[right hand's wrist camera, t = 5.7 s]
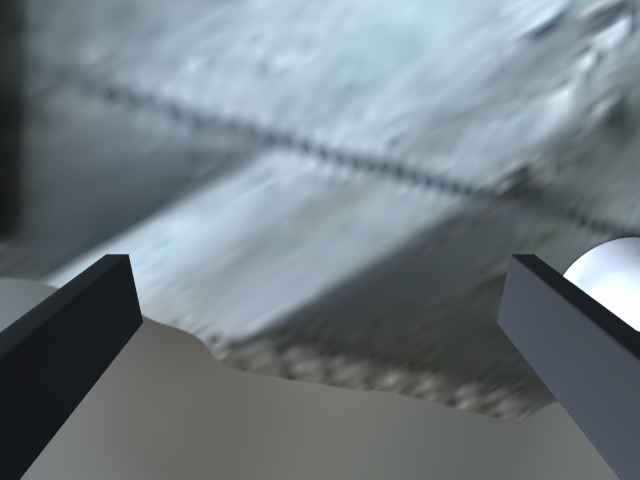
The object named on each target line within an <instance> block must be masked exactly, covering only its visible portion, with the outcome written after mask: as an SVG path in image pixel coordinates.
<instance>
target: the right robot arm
mask: <svg viewBox="0 0 640 480" xmlns="http://www.w3.org/2000/svg"><path fill="white" fill-rule="evenodd" d="M142 323H143V320H142V315H141V310H140V306H139V301H138V296H137V292H136V287H135V282H134V278H133V273H132V268H131V263H130V259H129V254H106V255H105V256H103V257H102V258H101V259H99V260H98V261H97V262H95V263H94V264H93V265H91V266H90V267H88V268H87V269H86V270H84V271H83V272H82V273H80V274H79V275H78V276H76V277H75V278H74V279H72V280H71V281H69V282H68V283H67V284H65V285H64V286H63V287H61V288H60V289H59V290H57V291H56V292H55V293H53V294H52V295H50V296H49V297H48V298H46V299H45V300H44V301H42V302H41V303H40V304H38V305H37V306H36V307H34V308H33V309H31V310H30V311H29V312H27V313H26V314H25V315H23V316H22V317H21V318H19V319H18V320H17V321H15V322H14V323H12V324H11V325H10V326H9V327H7V328H6V329H4V330H3V331H2V332H0V480H20V479H21V477H22V476H23V475H24V474H25V472H26V471H27V470H28V468H29V467H30V466H31V465H32V463H33V462H34V461H35V460H36V458H37V457H38V456H39V454H40V453H41V452H42V451H43V449H44V448H45V447H46V446H47V444H48V443H49V442H50V440H51V439H52V438H53V437H54V435H55V434H56V433H57V432H58V430H59V429H60V428H61V426H62V425H63V424H64V423H65V421H66V420H67V419H68V417H69V416H70V415H71V414H72V412H73V411H74V410H75V409H76V407H77V406H78V405H79V403H80V402H81V401H82V400H83V398H84V397H85V396H86V394H87V393H88V392H89V391H90V389H91V388H92V387H93V386H94V384H95V383H96V382H97V381H98V379H99V378H100V377H101V375H102V374H103V373H104V372H105V370H106V369H107V368H108V366H109V365H110V364H111V363H112V361H113V360H114V359H115V358H116V356H117V355H118V354H119V352H120V351H121V350H122V349H123V347H124V346H125V345H126V344H127V342H128V341H129V340H130V338H131V337H132V336H133V334H134V333H135V332H136V331H137V329H138V328H139V327H140V326H141V324H142ZM497 323H498V324H499V326H500V327H501V328H502V330H503V331H504V332H505V333H506V335H507V336H508V337H509V338H510V340H511V341H512V342H513V344H514V345H515V346H516V347H517V349H518V350H519V351H520V352H521V354H522V355H523V356H524V358H525V359H526V360H527V361H528V363H529V364H530V365H531V366H532V368H533V369H534V370H535V372H536V373H537V374H538V375H539V377H540V378H541V379H542V381H543V382H544V383H545V384H546V386H547V387H548V388H549V389H550V391H551V392H552V393H553V395H554V396H555V397H556V398H557V400H558V401H559V402H560V403H561V405H562V406H563V407H564V409H565V410H566V411H567V412H568V414H569V415H570V416H571V417H572V419H573V420H574V421H575V423H576V424H577V425H578V426H579V428H580V429H581V430H582V431H583V433H584V434H585V435H586V437H587V438H588V439H589V440H590V442H591V443H592V444H593V446H594V447H595V448H596V449H597V451H598V452H599V453H600V454H601V456H602V457H603V458H604V460H605V461H606V462H607V463H608V465H609V466H610V467H611V468H612V470H613V471H614V472H615V474H616V475H617V476H618V477H619V479H620V480H640V331H638V330H636V329H634V328H633V327H632V326H630V325H629V324H627V323H626V322H625V321H623V320H622V319H621V318H619V317H618V316H617V315H615V314H614V313H613V312H611V311H610V310H609V309H607V308H606V307H604V306H603V305H602V304H600V303H599V302H598V301H596V300H595V299H594V298H592V297H591V296H590V295H588V294H587V293H585V292H584V291H583V290H581V289H580V288H579V287H577V286H576V285H575V284H573V283H572V282H571V281H569V280H568V279H566V278H565V277H564V276H562V275H561V274H560V273H558V272H557V271H556V270H554V269H553V268H552V267H550V266H549V265H547V264H546V263H545V262H543V261H542V260H541V259H539V258H538V257H537V256H535V255H534V254H511V259H510V263H509V268H508V273H507V278H506V282H505V287H504V292H503V296H502V301H501V306H500V310H499V315H498V320H497Z"/></svg>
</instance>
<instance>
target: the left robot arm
mask: <svg viewBox="0 0 640 480" xmlns="http://www.w3.org/2000/svg"><path fill="white" fill-rule="evenodd" d="M564 277H565V278H566V279H568V280H569V281H571V282H572V283H573V284H575V285H576V286H577V287H579V288H580V289H581V290H583V291H584V292H585V293H587V294H588V295H590V296H591V297H592V298H594V299H595V300H596V301H598V302H599V303H600V304H602V305H603V306H604V307H606V308H607V309H609V310H610V311H611V312H613V313H614V314H615V315H617V316H618V317H619V318H621V319H622V320H623V321H625V322H626V323H627V324H629V325H630V326H632V327H633V328H634V329H636V330H638V331H640V237H628V238H621V239H616V240H612V241H609V242H607V243H604V244H602V245H599V246H597V247H595V248H594V249H592V250H590V251H589V252H587V253H586V254H584V255H583V256H582V257H580V258H579V259H578V260H577V261H576V262H575V263H574V264H573V265H572V266H571V267H570V268H569V269H568V270H567V272H566V273H565V274H564Z"/></svg>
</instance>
